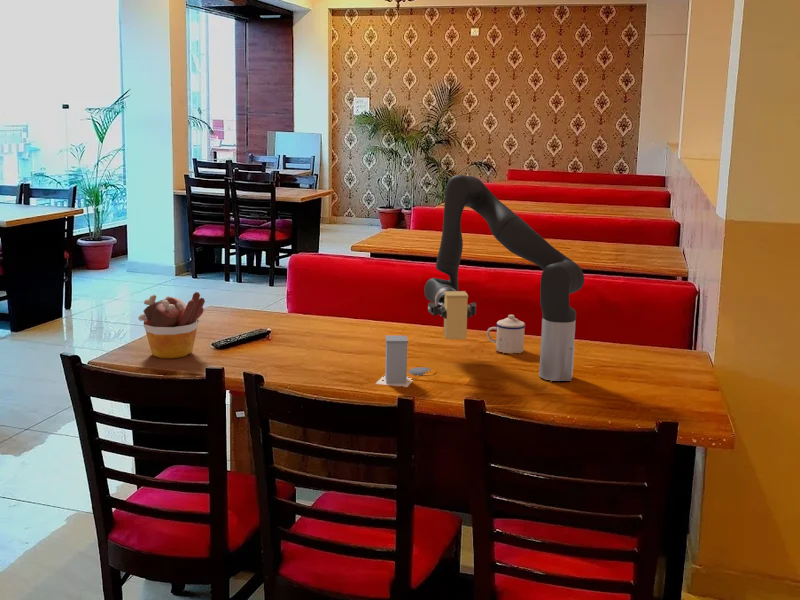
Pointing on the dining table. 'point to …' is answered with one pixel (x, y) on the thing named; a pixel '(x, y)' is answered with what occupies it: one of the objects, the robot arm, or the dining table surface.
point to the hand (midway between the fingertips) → (457, 314)
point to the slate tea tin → (396, 359)
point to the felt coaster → (419, 371)
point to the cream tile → (394, 384)
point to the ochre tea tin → (455, 314)
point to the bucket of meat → (171, 325)
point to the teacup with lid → (509, 335)
